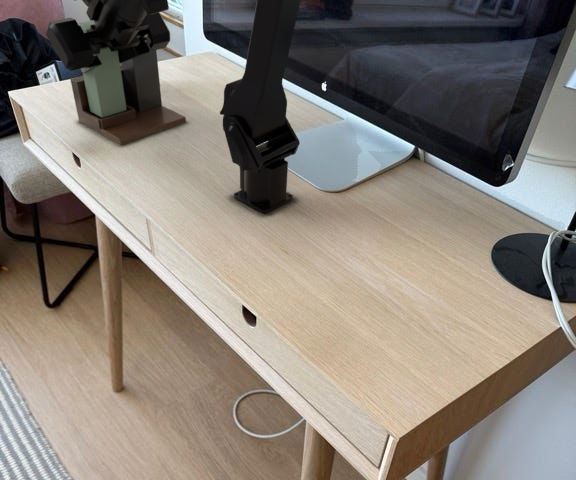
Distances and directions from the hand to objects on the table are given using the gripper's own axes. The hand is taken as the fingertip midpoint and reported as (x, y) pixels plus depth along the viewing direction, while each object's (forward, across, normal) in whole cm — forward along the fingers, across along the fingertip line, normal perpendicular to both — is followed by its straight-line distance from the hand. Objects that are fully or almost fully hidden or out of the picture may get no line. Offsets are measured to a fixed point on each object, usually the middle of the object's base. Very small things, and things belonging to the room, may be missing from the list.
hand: (96, 67), depth 93 cm
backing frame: (+4, -4, +8) cm, 10 cm away
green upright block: (+4, 0, +6) cm, 7 cm away
